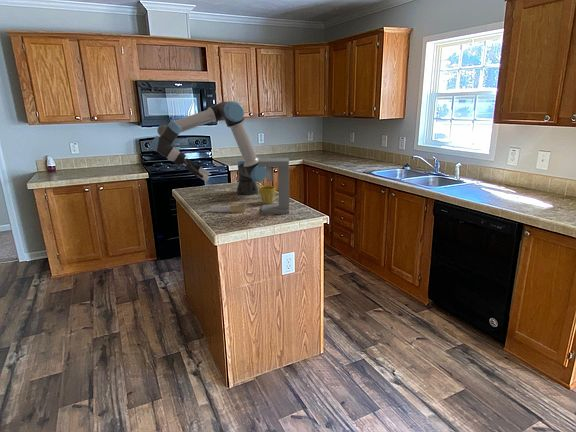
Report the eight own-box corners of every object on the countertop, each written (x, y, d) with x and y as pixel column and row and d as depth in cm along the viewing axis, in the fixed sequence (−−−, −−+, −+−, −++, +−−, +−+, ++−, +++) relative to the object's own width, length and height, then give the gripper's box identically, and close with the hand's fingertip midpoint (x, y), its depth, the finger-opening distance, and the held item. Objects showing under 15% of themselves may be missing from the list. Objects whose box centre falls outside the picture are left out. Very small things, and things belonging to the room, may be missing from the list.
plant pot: (256, 203, 236) (256, 188, 233) (263, 199, 245) (263, 185, 242) (271, 205, 232) (271, 189, 229) (278, 201, 241) (277, 186, 238)
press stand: (261, 208, 226) (259, 158, 217) (289, 207, 226) (288, 158, 217) (259, 213, 215) (257, 161, 206) (289, 213, 214) (288, 161, 206)
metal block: (211, 209, 224) (211, 203, 222) (245, 209, 223) (245, 203, 222) (209, 212, 218) (209, 206, 217) (244, 212, 218) (243, 205, 216)
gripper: (175, 158, 228) (205, 177, 235) (170, 166, 205) (203, 187, 212) (182, 148, 227) (212, 168, 234) (177, 155, 204) (211, 176, 211)
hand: (208, 177), depth 223 cm, fingers open, 13 cm apart
